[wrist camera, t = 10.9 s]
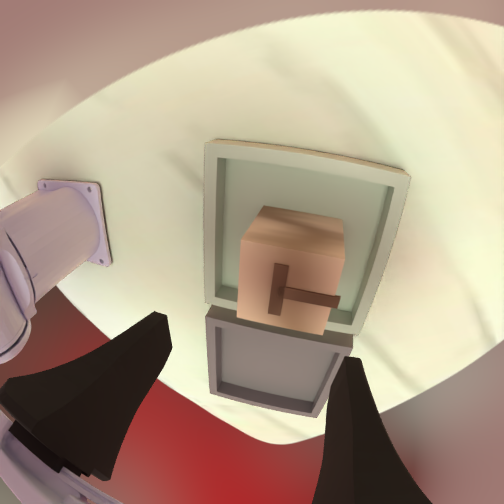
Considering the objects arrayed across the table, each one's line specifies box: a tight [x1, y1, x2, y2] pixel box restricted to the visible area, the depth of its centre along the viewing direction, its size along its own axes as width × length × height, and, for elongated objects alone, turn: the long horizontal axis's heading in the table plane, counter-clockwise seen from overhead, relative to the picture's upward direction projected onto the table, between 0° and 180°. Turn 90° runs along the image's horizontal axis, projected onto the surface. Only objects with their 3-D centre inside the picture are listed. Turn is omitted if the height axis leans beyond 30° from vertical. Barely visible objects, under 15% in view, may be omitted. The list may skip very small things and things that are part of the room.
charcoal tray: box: [205, 305, 353, 418], centre depth 25 cm, size 12×12×2 cm
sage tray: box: [203, 139, 411, 335], centre depth 18 cm, size 12×12×2 cm
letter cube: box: [237, 205, 345, 335], centre depth 17 cm, size 5×5×5 cm
